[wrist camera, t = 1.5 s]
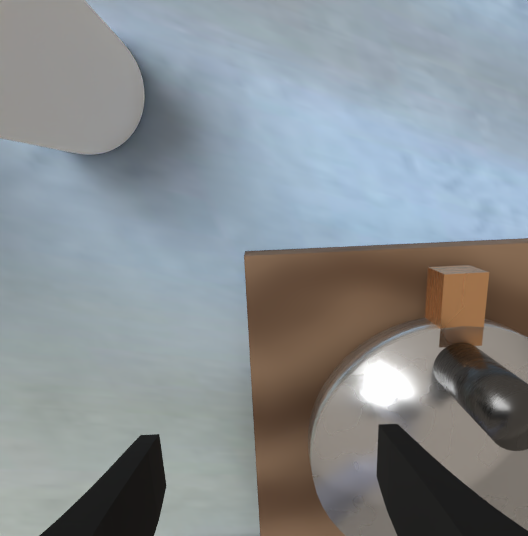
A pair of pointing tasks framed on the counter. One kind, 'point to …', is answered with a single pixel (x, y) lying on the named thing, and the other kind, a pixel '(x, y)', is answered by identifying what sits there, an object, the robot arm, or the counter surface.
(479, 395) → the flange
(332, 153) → the counter surface
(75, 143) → the can
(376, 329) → the base board
